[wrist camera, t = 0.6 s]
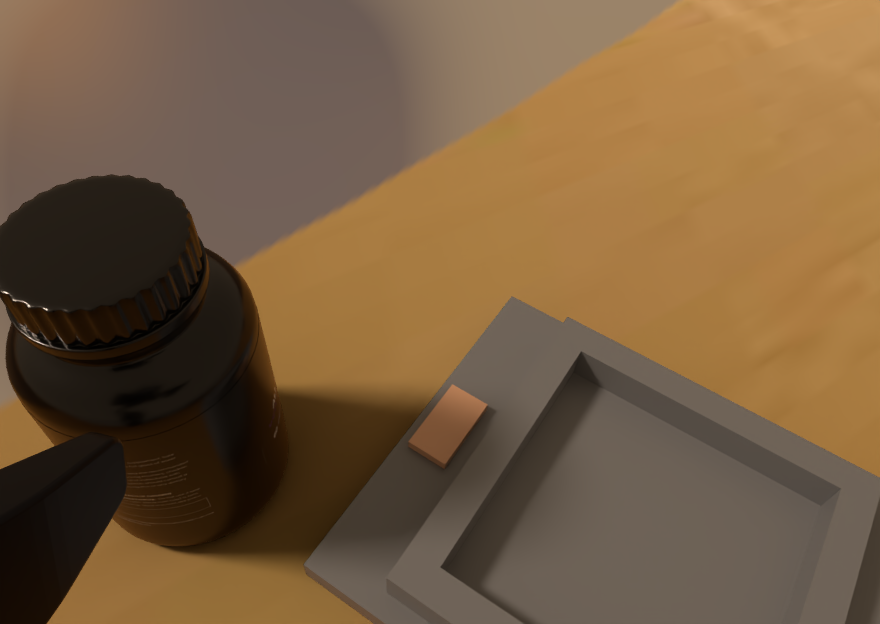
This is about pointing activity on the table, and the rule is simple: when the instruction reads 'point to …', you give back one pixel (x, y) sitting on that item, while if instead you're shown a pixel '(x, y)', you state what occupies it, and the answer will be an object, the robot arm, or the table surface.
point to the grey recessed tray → (600, 500)
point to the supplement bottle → (144, 353)
